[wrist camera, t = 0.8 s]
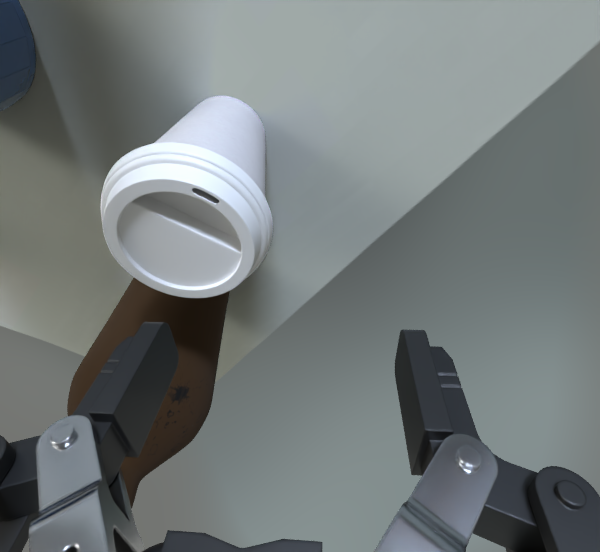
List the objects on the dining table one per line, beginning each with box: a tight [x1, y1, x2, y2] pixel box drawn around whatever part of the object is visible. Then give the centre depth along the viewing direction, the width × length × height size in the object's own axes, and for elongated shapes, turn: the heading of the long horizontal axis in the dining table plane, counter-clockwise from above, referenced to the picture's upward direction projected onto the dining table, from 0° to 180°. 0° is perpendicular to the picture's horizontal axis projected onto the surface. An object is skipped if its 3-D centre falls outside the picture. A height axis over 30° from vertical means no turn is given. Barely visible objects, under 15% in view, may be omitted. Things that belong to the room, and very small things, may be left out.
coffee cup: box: [100, 96, 273, 298], centre depth 25 cm, size 10×10×15 cm
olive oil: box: [67, 278, 230, 509], centre depth 31 cm, size 11×11×25 cm
